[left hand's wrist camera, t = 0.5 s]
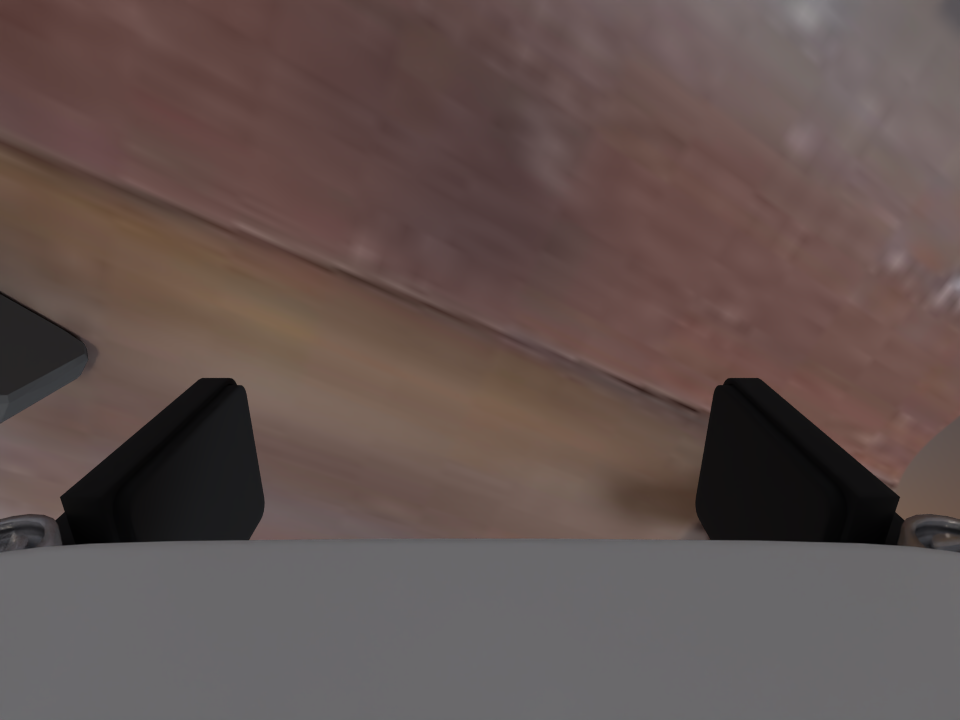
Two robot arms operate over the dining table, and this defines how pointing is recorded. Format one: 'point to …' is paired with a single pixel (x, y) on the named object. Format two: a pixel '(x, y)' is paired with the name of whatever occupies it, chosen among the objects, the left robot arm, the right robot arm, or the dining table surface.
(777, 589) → the left robot arm
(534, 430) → the dining table surface
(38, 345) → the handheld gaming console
